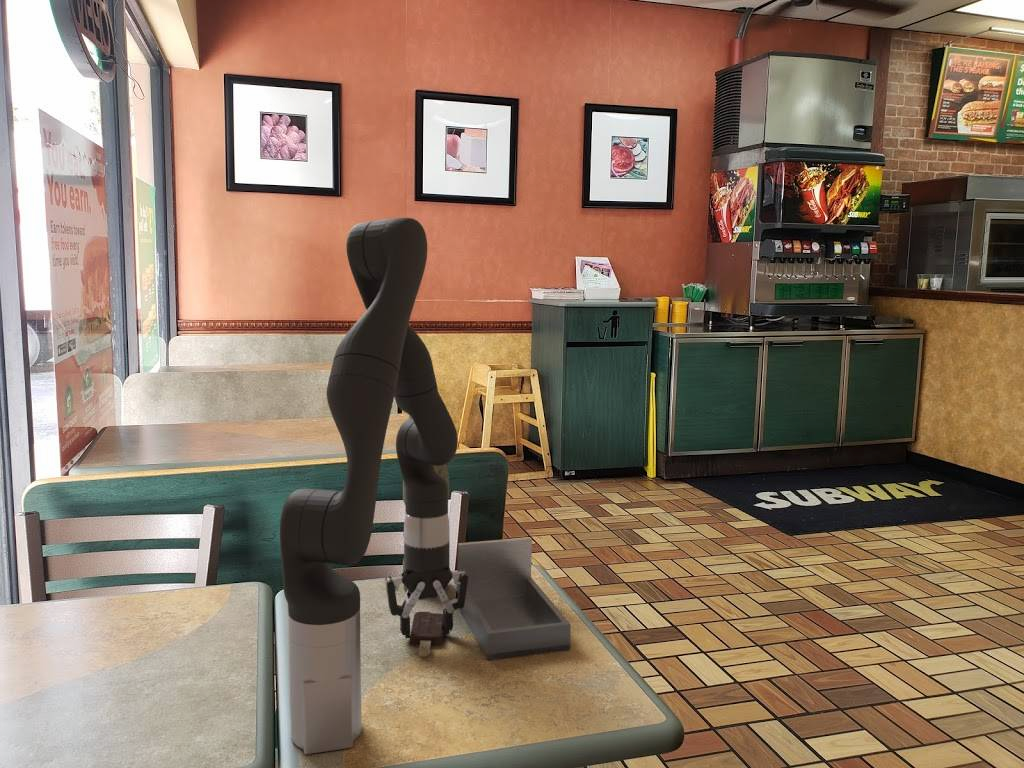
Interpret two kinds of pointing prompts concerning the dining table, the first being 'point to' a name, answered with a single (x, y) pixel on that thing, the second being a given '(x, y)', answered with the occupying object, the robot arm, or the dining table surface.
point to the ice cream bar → (426, 631)
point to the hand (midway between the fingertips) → (426, 633)
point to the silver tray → (508, 601)
